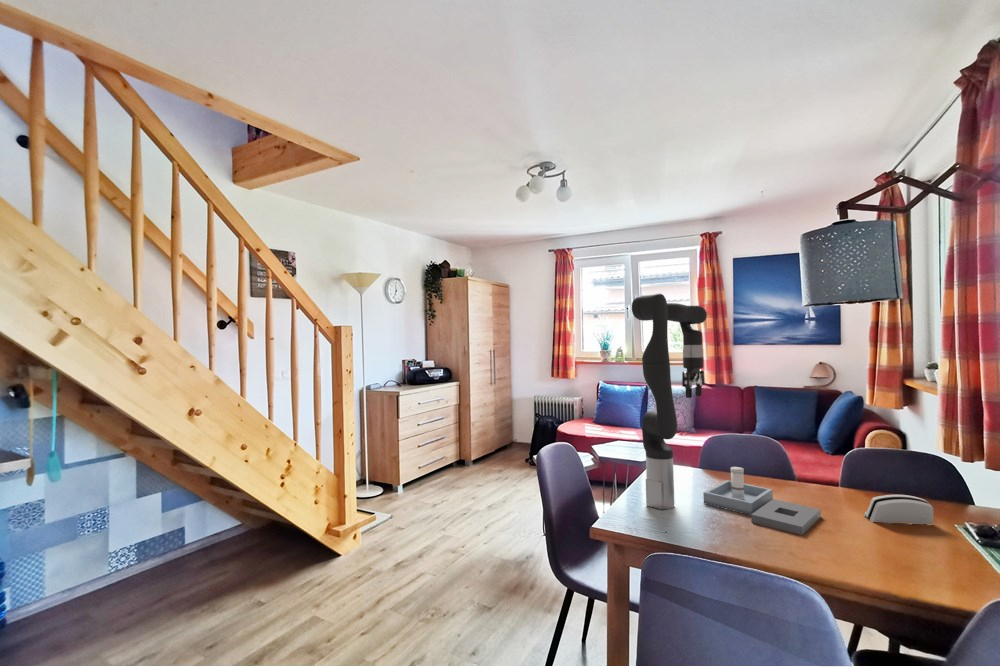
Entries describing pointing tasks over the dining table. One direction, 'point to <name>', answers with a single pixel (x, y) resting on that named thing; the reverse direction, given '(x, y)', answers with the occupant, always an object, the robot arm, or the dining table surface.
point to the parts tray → (752, 502)
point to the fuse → (737, 483)
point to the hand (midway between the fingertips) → (693, 396)
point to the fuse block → (786, 516)
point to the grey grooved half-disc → (900, 510)
